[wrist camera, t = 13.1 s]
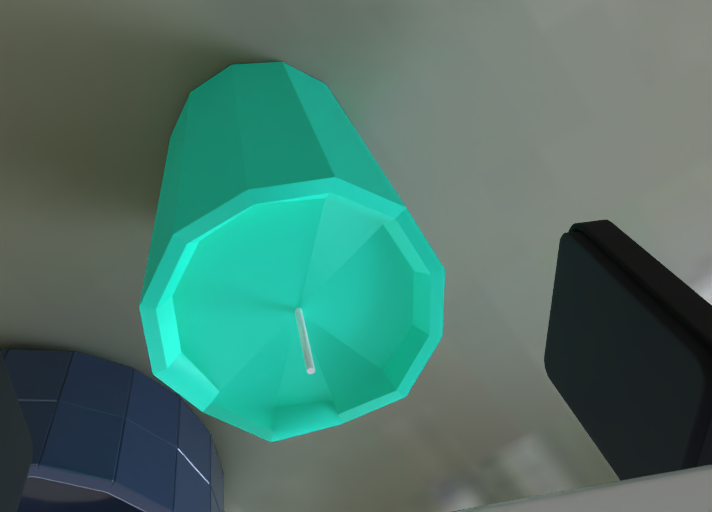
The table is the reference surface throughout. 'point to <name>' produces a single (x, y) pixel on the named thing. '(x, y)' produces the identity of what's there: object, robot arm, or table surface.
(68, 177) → the table surface
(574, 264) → the robot arm
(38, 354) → the basin
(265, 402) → the candle
